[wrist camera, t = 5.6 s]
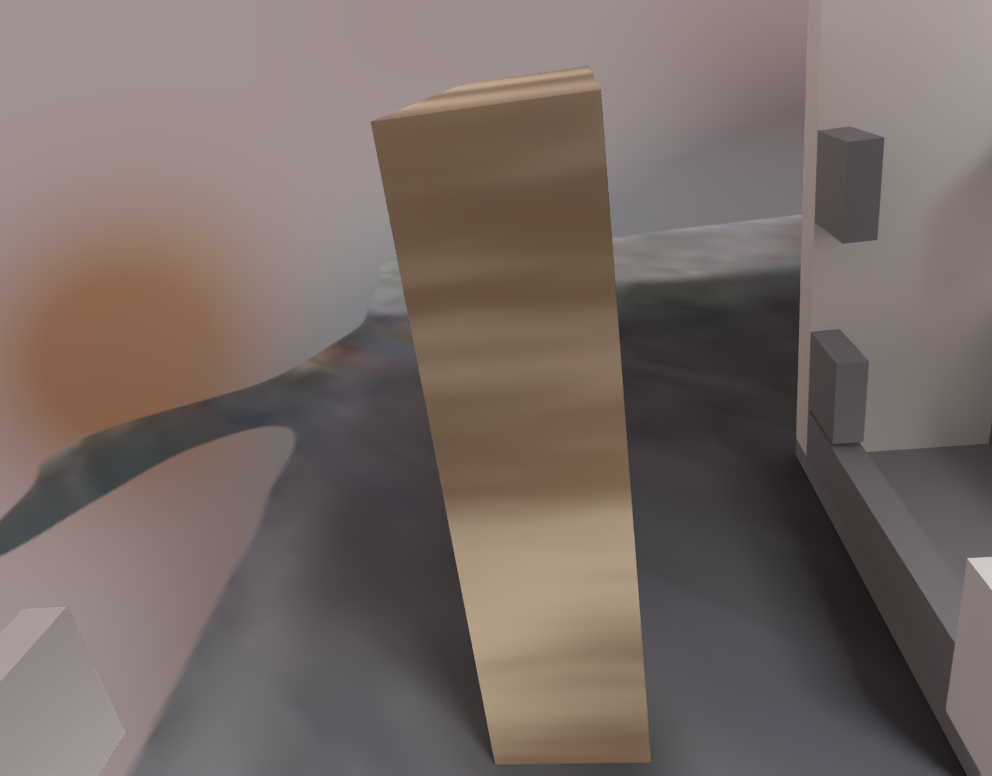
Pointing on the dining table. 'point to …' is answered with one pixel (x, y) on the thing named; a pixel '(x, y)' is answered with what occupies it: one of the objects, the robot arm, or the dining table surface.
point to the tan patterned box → (526, 402)
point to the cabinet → (900, 308)
